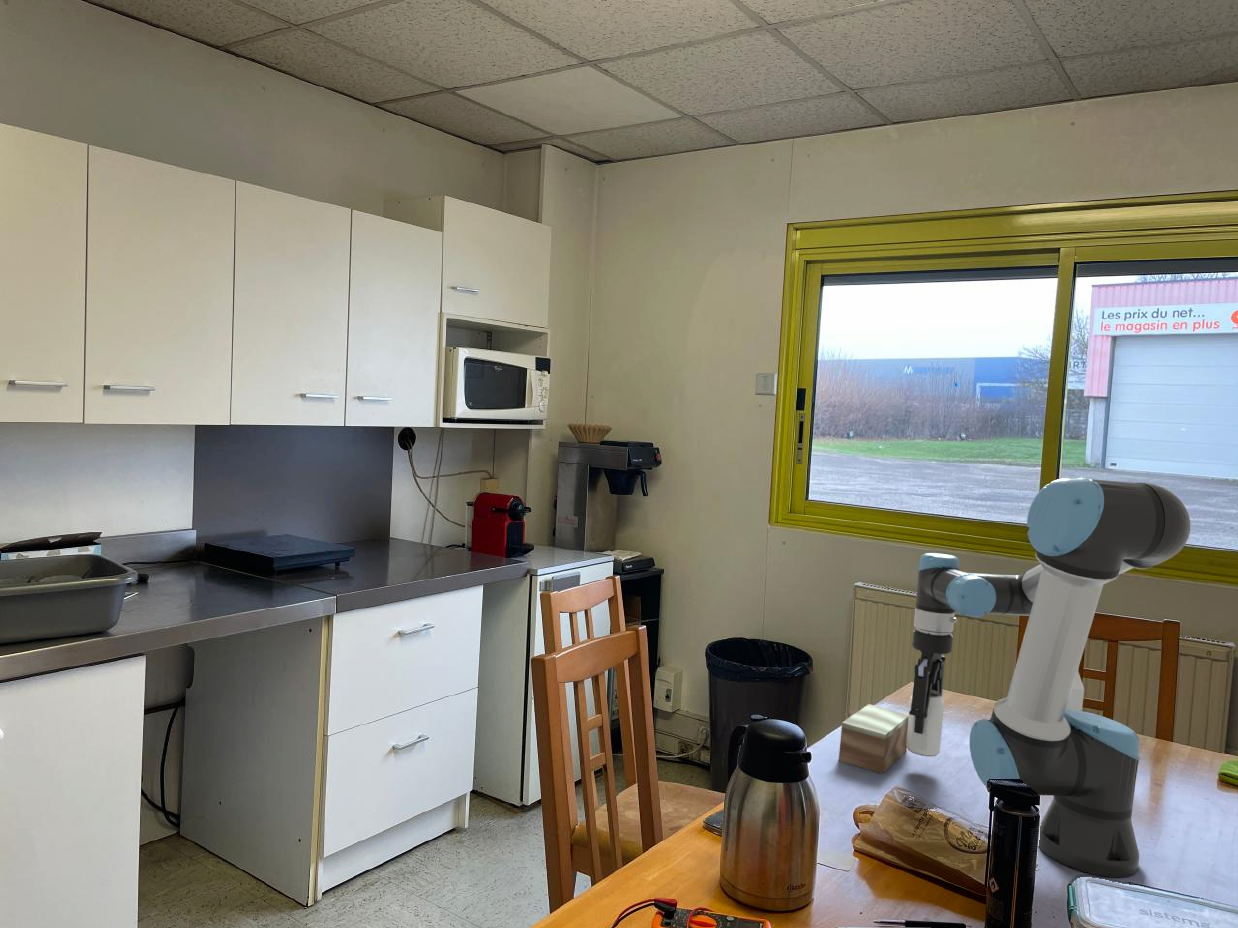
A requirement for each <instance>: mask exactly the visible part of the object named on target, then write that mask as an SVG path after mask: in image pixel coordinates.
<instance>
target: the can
mask: <svg viewBox="0 0 1238 928" xmlns="http://www.w3.org/2000/svg"><path fill="white" fill-rule="evenodd" d="M912 695H913V693H912V694H911V696H910V700H909V709H908V712H909V711H911V704H912ZM944 706H945V702H944V699H943V692H942V693H940V692H938V691H935V690H931V695H930V701H929V706H928V712H927V717H928V729H927V740H926V750H925V751H924V750H920V749H917V748H913V747H911V739H912V728H913V716H914V715H910V714H909V713H908V714H909V719H908V730H907V743H906V747H907V750H908V751H909V752H911V753H913V754H915V755H918V756H922V757H936V756H938V755H939V754H940V753H941V744H942V742H941V741H942V733H943V732H942V730H943V723H944V722H943V720H944Z"/></svg>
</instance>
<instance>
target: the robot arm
mask: <svg viewBox="0 0 1238 928" xmlns="http://www.w3.org/2000/svg"><path fill="white" fill-rule="evenodd" d="M1026 519H1027V520H1026V527H1027V528H1028V531H1027V537H1028V540H1029V543H1030V545H1031V546H1032V547H1033V548H1034V549H1035V555H1034V556H1035V559H1037V561H1038V563H1039V564H1038V565H1036V566H1034V567H1033V568H1031V569H1029V570H1027V571H1025V572H1023V573H1021V574H1018V575H1015V574H1014V575H1013V574H990V573H979V572H978V573H976V572H966V571H962V570H961V568H960V559H959V558H958V557H957V556H956V555H951V554H948V553H947V554H945V553H937V552H928V553H927V552H926V553H924V554H922V555H921V556H920V558H919V559H920V560H919V568H918V570H917V585H916V600H915V607H914V609H915V611H914V620H913V626H914V628H915V629H914V630H913V633H912V634H913V635H912V644H911V646H912V647H913V649H915V650H916V651H920V652H921V655H920V658H918V660H917V664H915V665H914V668H913V669H914V679H913V688H912V694H913V695H912V694H911V696H912V704H911V711H909V710H908V714H910V715H914V716H913V728H912V739H911V747H913V748H917V749H920V750H924V751H925V750H926V740H927V729H928V717H927V712H928V706H929V701H930V695H931V690H935V691H938V692H940V693H942V694H943V691H944V690H943V689H944V688H943V687H944V673H945V665H946V664H945V663H946V655H948V654H950V653H951V652H952V651H953V650H952V649H953V638H954V637H953V636H954V635H953V634H952V632H953V631H954V626H955V625H954V624H955V623H957V622H958V618H956V617H955V615H956V613H958V614H960V615H963V616H968V617H971V618H981V617H984V616H985V615H1008V616H1009V615H1010V616H1025V617H1027V616H1028V620H1027V624H1026V628H1025V632H1024V634H1023V639H1022V641H1021V646H1020V649H1019V653H1018V656H1017V661H1016V665H1015V668H1014V672H1013V675H1012V678H1011V682H1010V686H1009V690H1008V693H1007V696H1006V697H1003V698H1000V699H999V700H997V701H995V703H994V705H993V709H992V713H991V717H990V718H989V719H988V718H982V719H978V721H975V722H974V723H973V725H972V727H971V728H970V734H969V752H970V756H971V760H972V765H973V767H974V770H975V772H976V775H977V776H978V778H979V780H980V782H982V783H983V785H984V786H985V787H986V788H987V781H988V780H989V779H997V778H1005V779H1020V780H1022V781H1023V782H1024V783H1025V784H1026V785H1028V786H1029V787H1031V788H1032V790H1034V791H1035V792H1036V793H1037V794H1038V795H1037V796H1053V799H1052V801H1051V803H1050V805H1049V807H1048V809H1047V810H1046V812H1045V814H1044V816H1043V818H1042V819H1041V822H1040V824H1041V826H1040V825H1039V826H1040V840H1039V846H1038V847H1039V849H1040V850H1041V851H1042V852H1043V853H1045V854H1046V855H1047V856H1048V857H1049V858H1051V859H1053V860H1055V861H1056V862H1059V863H1060V864H1063V865H1064V866H1067V867H1069V866H1070V867H1069V868H1071V867H1072V869H1074V868H1075V870H1077V869H1078V870H1077V871H1080V870H1081V871H1080V872H1083V871H1086V872H1085V873H1087V872H1088V873H1087V874H1091V873H1092V875H1096V876H1101V877H1102V876H1103V877H1108V878H1109V877H1110V878H1125V877H1129V876H1132V875H1135V874H1136V873H1137V872H1138V870H1139V862H1140V852H1139V848H1138V843H1137V839H1136V835H1135V830H1134V827H1133V822H1132V814H1133V808H1134V807H1133V806H1134V800H1135V799H1134V798H1135V797H1134V796H1135V790H1136V789H1135V788H1136V781H1137V774H1138V768H1139V767H1138V766H1139V761H1140V760H1141V758H1140V742H1141V741H1140V738H1139V736H1138V734H1137V733H1136V732H1135V731H1134V730H1133V728H1130V727H1128V726H1127V725H1124V724H1123V723H1121V722H1119V721H1116V720H1113V719H1111V718H1108V717H1105V716H1102V715H1099V714H1096V713H1091V712H1088V711H1083V710H1082V711H1078V710H1067V711H1066V707H1067V704H1068V701H1069V697H1070V694H1071V691H1072V688H1073V684H1074V681H1075V678H1076V674H1077V671H1078V672H1079V670H1078V668H1079V667H1080V663H1081V661H1082V657H1083V654H1084V650H1085V647H1086V644H1087V640H1088V637H1089V633H1090V630H1091V629H1092V628H1091V627H1092V624H1093V621H1094V617H1095V613H1096V610H1097V607H1098V603H1099V600H1100V596H1101V594H1102V591H1103V587H1104V585H1105V584H1108V583H1110V582H1112V581H1114V580H1116V579H1118V577H1119V575H1121V574H1124V573H1125V572H1127V571H1130V570H1133V569H1139V570H1147V569H1151V568H1153V567H1155V566H1158V565H1160V564H1162V563H1164V562H1166V561H1167V560H1170V559H1171V558H1173V557H1175V556H1176V555H1177V554H1178V553H1180V552H1181V550H1182V549H1183V548H1184V547H1185V546H1186V544H1187V542H1188V539H1189V536H1190V533H1191V520H1190V519H1191V518H1190V513H1189V512H1188V510H1187V508H1186V506H1185V505H1184V503H1183V502H1182V500H1181V499H1180V498H1179V497H1178V496H1177V495H1176V494H1175V493H1173V492H1172V491H1170V490H1168V489H1166V488H1164V487H1163V486H1161V485H1157V484H1155V483H1154V484H1152V483H1148V482H1133V481H1131V482H1130V481H1118V480H1104V479H1091V478H1088V477H1077V478H1059V479H1056V480H1053V481H1051V482H1050V483H1048V484H1046V485H1044V486H1043V487H1042V488H1041V489H1040V490H1039V491H1038V492H1037V494H1036V495H1035V497H1034V498H1033V500H1032V502H1031V504H1030V507H1029V509H1028V514H1027V518H1026Z"/></svg>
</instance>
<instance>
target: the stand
mask: <svg viewBox="0 0 1238 928" xmlns="http://www.w3.org/2000/svg"><path fill="white" fill-rule="evenodd" d="M908 719H909V713H904V712H900V711H897V710H893V709H889V708H885V707H881V706H877V705H874V704H870V703H868V704H866V706H864V707H862V708H861V709H860V710H858V711H857V712H856V713H853V714H852V715H851V716H849V717H848V718H846V719H844V721H842V722H841V731H840V742H839V743H840V744H839V753H838V761H839V762H842V763H845V764H848V765H852V766H855V767H859V768H862V769H865V770H868V771H872V772H876V773H878V774H884V772H886V770H888V769H889V768H890V767H891V766H892V765H893V764H895V762H897V761H898V760H899V759H900V758H901V757H902V756H903V755H904V754H905V753H907V750H908V748H907V747H906V743H907V730H908Z"/></svg>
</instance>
